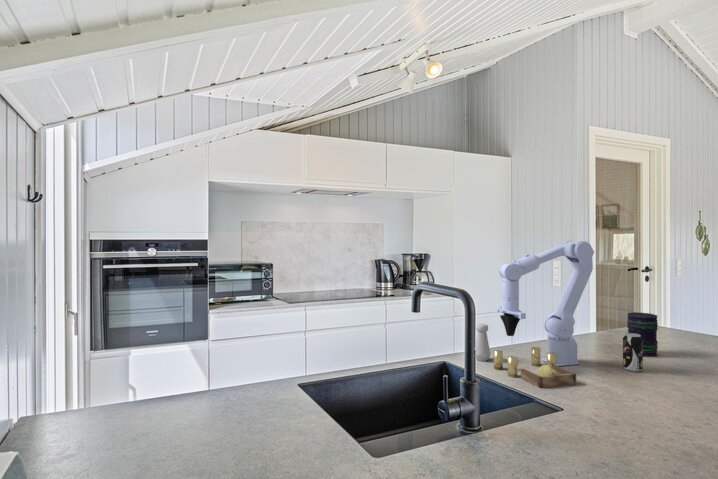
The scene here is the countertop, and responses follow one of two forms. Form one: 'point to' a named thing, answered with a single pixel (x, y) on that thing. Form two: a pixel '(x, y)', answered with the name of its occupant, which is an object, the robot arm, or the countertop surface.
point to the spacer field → (513, 360)
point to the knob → (546, 371)
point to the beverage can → (632, 352)
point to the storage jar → (644, 331)
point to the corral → (550, 378)
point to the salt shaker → (482, 343)
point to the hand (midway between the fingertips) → (510, 335)
